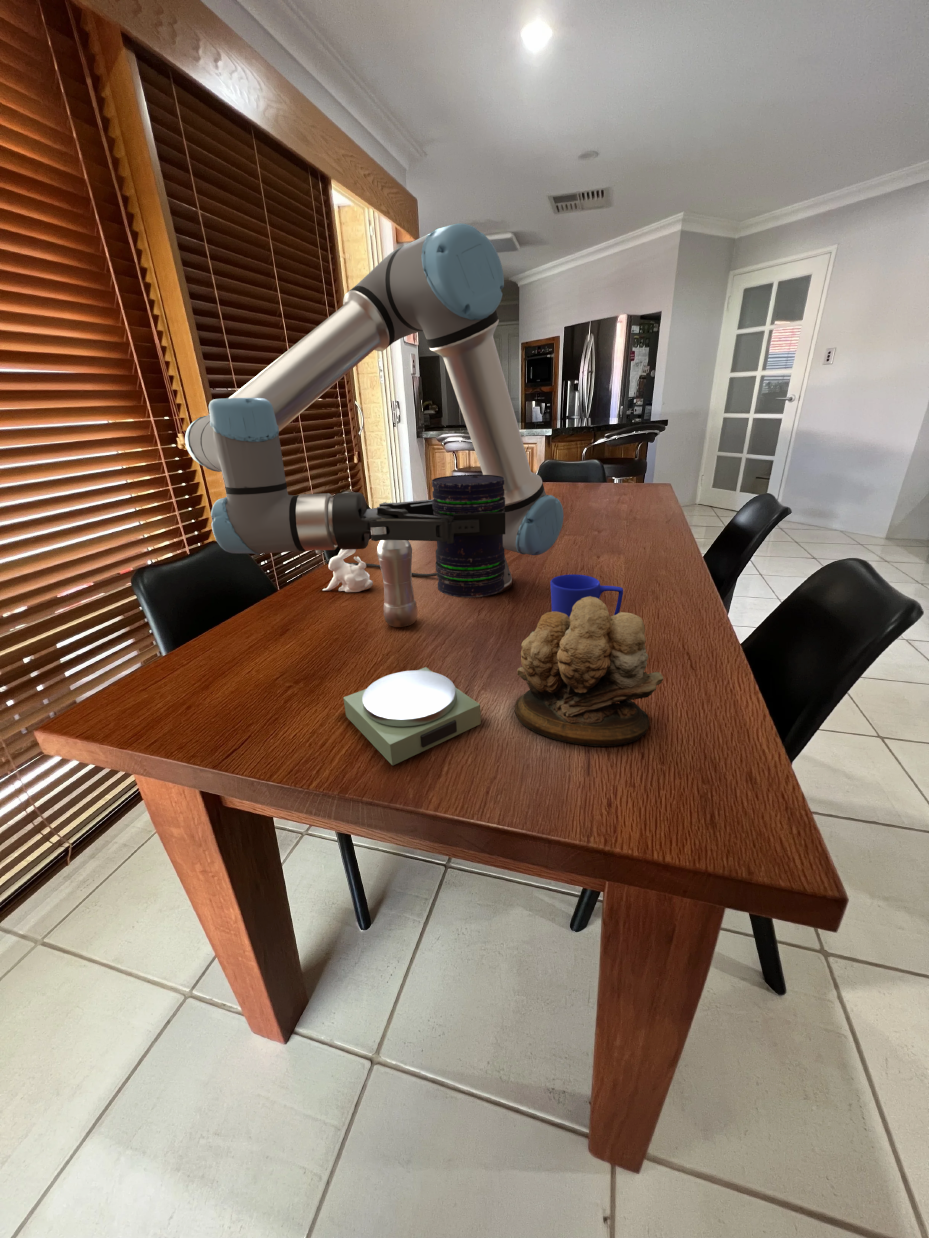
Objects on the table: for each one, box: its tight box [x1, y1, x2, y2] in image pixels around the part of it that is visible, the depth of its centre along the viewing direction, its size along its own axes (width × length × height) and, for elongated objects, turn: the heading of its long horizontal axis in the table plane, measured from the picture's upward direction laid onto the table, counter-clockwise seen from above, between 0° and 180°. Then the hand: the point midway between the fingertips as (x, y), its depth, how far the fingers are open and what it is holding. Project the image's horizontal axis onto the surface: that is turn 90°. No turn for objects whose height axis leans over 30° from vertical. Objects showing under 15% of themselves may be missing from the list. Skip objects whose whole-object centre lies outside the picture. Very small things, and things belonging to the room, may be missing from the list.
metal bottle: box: [376, 540, 419, 628], centre depth 91 cm, size 6×7×20 cm
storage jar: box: [431, 474, 506, 598], centre depth 68 cm, size 10×10×15 cm
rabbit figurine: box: [322, 548, 374, 593], centre depth 115 cm, size 12×8×10 cm, turn 73°
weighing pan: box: [362, 669, 457, 727], centre depth 64 cm, size 12×12×1 cm
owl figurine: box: [514, 596, 664, 747], centre depth 61 cm, size 18×12×17 cm, turn 72°
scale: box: [342, 666, 482, 766], centre depth 65 cm, size 13×13×3 cm
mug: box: [550, 574, 624, 619], centre depth 86 cm, size 8×12×10 cm
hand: (500, 515), depth 68 cm, fingers closed on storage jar, 10 cm apart
